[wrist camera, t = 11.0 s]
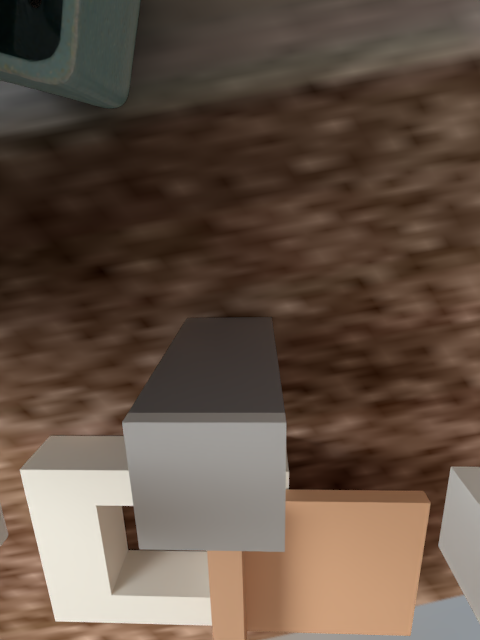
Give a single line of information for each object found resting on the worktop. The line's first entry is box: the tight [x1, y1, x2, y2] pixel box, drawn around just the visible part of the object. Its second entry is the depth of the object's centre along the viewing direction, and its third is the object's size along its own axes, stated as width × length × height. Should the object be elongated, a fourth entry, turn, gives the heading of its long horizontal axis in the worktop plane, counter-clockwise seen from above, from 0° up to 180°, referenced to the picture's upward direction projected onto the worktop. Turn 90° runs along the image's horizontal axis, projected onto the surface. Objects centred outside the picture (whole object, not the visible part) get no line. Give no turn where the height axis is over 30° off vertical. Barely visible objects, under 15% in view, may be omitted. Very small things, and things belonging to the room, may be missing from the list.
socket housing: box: [20, 436, 289, 626], centre depth 22 cm, size 11×14×3 cm
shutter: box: [207, 489, 431, 640], centre depth 19 cm, size 9×10×3 cm
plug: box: [122, 317, 286, 552], centre depth 16 cm, size 4×4×10 cm
